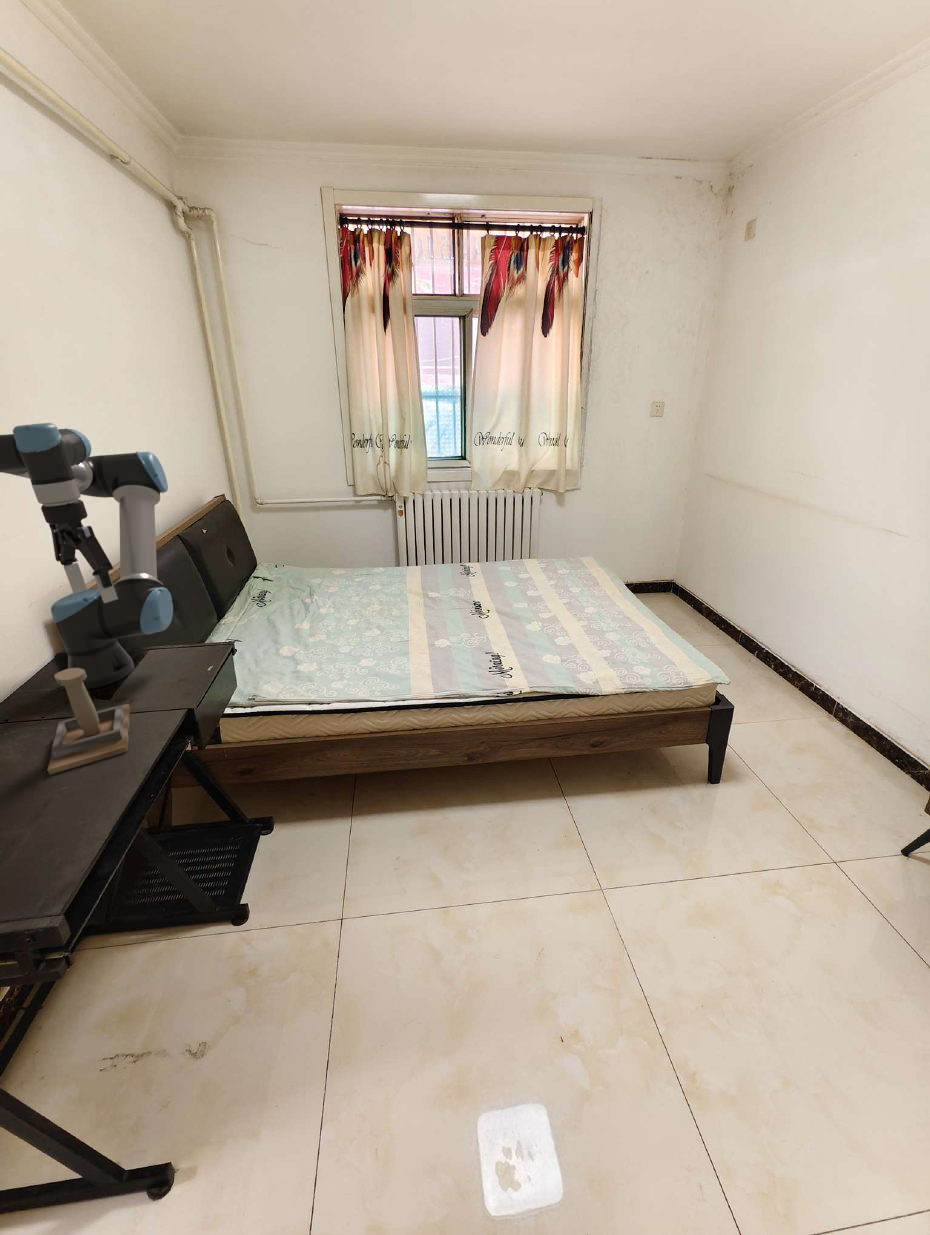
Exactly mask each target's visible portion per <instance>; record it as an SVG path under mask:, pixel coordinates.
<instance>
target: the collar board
mask: <svg viewBox="0 0 930 1235" xmlns="http://www.w3.org/2000/svg"><path fill="white" fill-rule="evenodd" d="M96 712H97V715H98V719H99V724H100V732H99V733H97V734H95V735H94V736H85V734H84V733H83V732H84V730H82V729H81V727H80V726H79V724H78V722H77V720H76V718H75V717H71V718H68V719H64V720H60V721H58V725H57V728H56V731H55V735H54V739H53V743H52V747H51V750H50V752H51V755H50V759H49V763H48V767H47V772H48V774H49V776H51V775H53V774H56V773H61V772H64V771H67V770H69V769H73V768H78V767H80V766H83V765H86V764H92V763H95V762H97V761H100V760H103V759H108V758H111V757H113V756H116V755H119V754H123V753H127V752H128V750H129V735H128V732H129V733H130V718H129V715H130V714H131V707H130V704H129V703H127V704H121V705H116V706H113V707H108V708H105V709H102V710H98V711H97V710H96Z"/></svg>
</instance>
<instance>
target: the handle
mask: <svg viewBox="0 0 930 1235" xmlns="http://www.w3.org/2000/svg"><path fill="white" fill-rule="evenodd" d="M86 677H87V675H86V673H85V670H84V669H81V668H69V669H68V668H66V669H63V670H61V671H59V672H56V673H55V674H54V678H55V681H56V683H57V684H58V685H59V686H61V687H64V688H65V691H66V694H67V698H68V700H69V703H70V707H71V710H72V712H73V715H74V718H76V720H77V722H78V724H79V726H80V727H81V729H82V730H84V732H83V733H84V734H85V736H94V735H95V734H97V733H99V732H100V724H99V719H98V715H97V710H96V707H95V704H94V703H93V701H92V698H91V697H90V695H89V692H88V689H86V688H85V686H84V683H83V680H85V679H86Z"/></svg>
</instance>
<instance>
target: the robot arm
mask: <svg viewBox="0 0 930 1235" xmlns="http://www.w3.org/2000/svg"><path fill="white" fill-rule="evenodd" d="M91 454H92V444H91V442H90V440H89V438H87V436H86V435H85V434H83V433H82V432H81V431H78V430H76V429H73V428H58V427H57V425H56V424H54V423H52V422H43V423H31V424H23V425H16V426H14V427H13V429H12V433H9V434H8V433H7V434H0V473H4V474H7V475H12V476H17V477H21V478H26V479H29V480H30V483H31V487H32V489H33V492H34V495H35V497H36V500H37V503H39V504H41V505H40V506H41V507H40V509H41V512H42V516H43V517H44V520H45V522H46V523H47V524H48V526H49V529H50V531H51V538H52V544H53V551H54V558H55V561H56V562H57V563H58V562H59V563H60V564H61V566H63V570H64V572H65V575H66V577H67V580H68V582H69V585H70V588H71V590H72V593H70V594H69V595H67V596H64V597H62V598H60V599H58V600H56V601H55V602H54V603H53V604H52V605H51V607H50V612H51V616H52V619H53V623H54V625H55V627H56V630H57V632H58V634H59V637H60V639H61V641H62V644H63V647H64V649H65V651H66V652H65V653H66V654H67V659H68V661H67V663H68V664H67V669H69V668H81V669H84V670H85V673H86V675H87V677H86V679H85V680H83V683H84V686H85V688H86V690H88V689H95V688H101V687H105V686H108V685H110V684H113V683H116V682H118V681H120V680H122V679H123V678H125V677H128V676H129V675H130V674H131V673H132V672H133V671H134V670H135V665H134V661H133V658H132V657H131V656H130V655H129V653H127V651H126V650H125V649H124V648H123V647H122V645H121V644H120V643H119V640H118V639H119V638H127V637H134V636H135V637H137V636H142V635H151V634H155V633H159V632H163V631H165V630H166V629H168V627H169V626H170V624H171V622H172V621H173V615H174V603H173V601H172V600H173V597H172V594H171V592H170V591H169V590H168V588H166V587H164V584H163V582H162V581H160V580H159V579H158V572H157V571H158V569H157V564H158V563H157V542H156V536H157V535H156V516H155V515H156V514H155V513H156V512H155V511H156V508H155V506H156V505H158V504H159V503H160V501H161V494H164V493H166V492H168V489H169V487H168V480H167V477H166V473H165V471H164V468H163V465H162V463H161V461H160V460H159V458H158V457H157V456H156V455H155V453H153V452H151V451H140V452H139V451H135V452H130V453H129V452H128V453H127V452H126V453H116V454H115V453H113V454H102V455H101V454H100V455H93V456H91ZM81 495H82V496H87V497H93V498H106V499H107V498H113V499H114V500H115V501H116V502H117V503H118V504H119V506H118V508H119V509H118V510H119V517H118V518H119V560H120V561H119V568H120V569H119V571H120V572H119V573H120V574H119V575H120V577H119V579H118V580H116V581H115V582H114V583H113V581H112V578H111V575H110V571H111V570H114V566H113V565H112V563H111V561H110V559H109V558H108V556H107V554H106V553H105V550H104V549H103V547H102V546H101V543H100V542H99V539H98V538H97V537H96V534H95V532H94V530H93V527H92V526H91V525H85V526H84V525H83V523H82V520H84V519H87V517H88V511H87V509H86V506H85V504H84V503H85V502H84V501H83V500H82V499H80V498H81ZM76 551H79V553H81V555H82V556H83V558H84V559H85V560H86V562H87V564H89V567H91V569H92V571H93V572H92V576H93V578H94V580H95V583H96V585H97V587H98V588H89V589H88V586H87V585H86V581H85V580H84V577H83V573H82V571H81V568H80V566H79V563H78V562H79V560H78V559H77V557H76Z"/></svg>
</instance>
